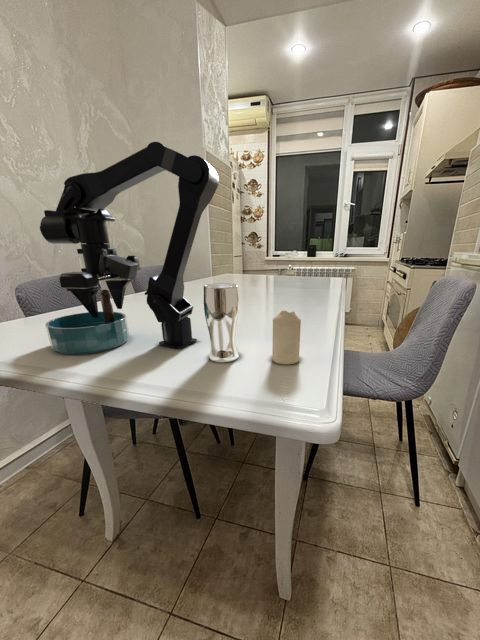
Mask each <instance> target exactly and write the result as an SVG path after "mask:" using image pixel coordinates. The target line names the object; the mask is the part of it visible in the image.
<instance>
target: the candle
mask: <svg viewBox="0 0 480 640" xmlns="http://www.w3.org/2000/svg"><path fill="white" fill-rule="evenodd" d="M301 319H302V318H300V317H299V316H298V314H297V313H296V312H295V311H291V312H289V311H287V310H282V311H280V312H279V313H278V314H276V315H275V316H274V317H273V318H272V351H271V352H272V353H271V354H272V356H271V357H272V358H271V359H272V361H273V362H274V363H276V364H280V365H293V364H294V365H295V364H297V363H298V362H299V360H300V349H301V348H300V347H301V346H300V345H301V328H302V327H301V326H302V320H301Z"/></svg>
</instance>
